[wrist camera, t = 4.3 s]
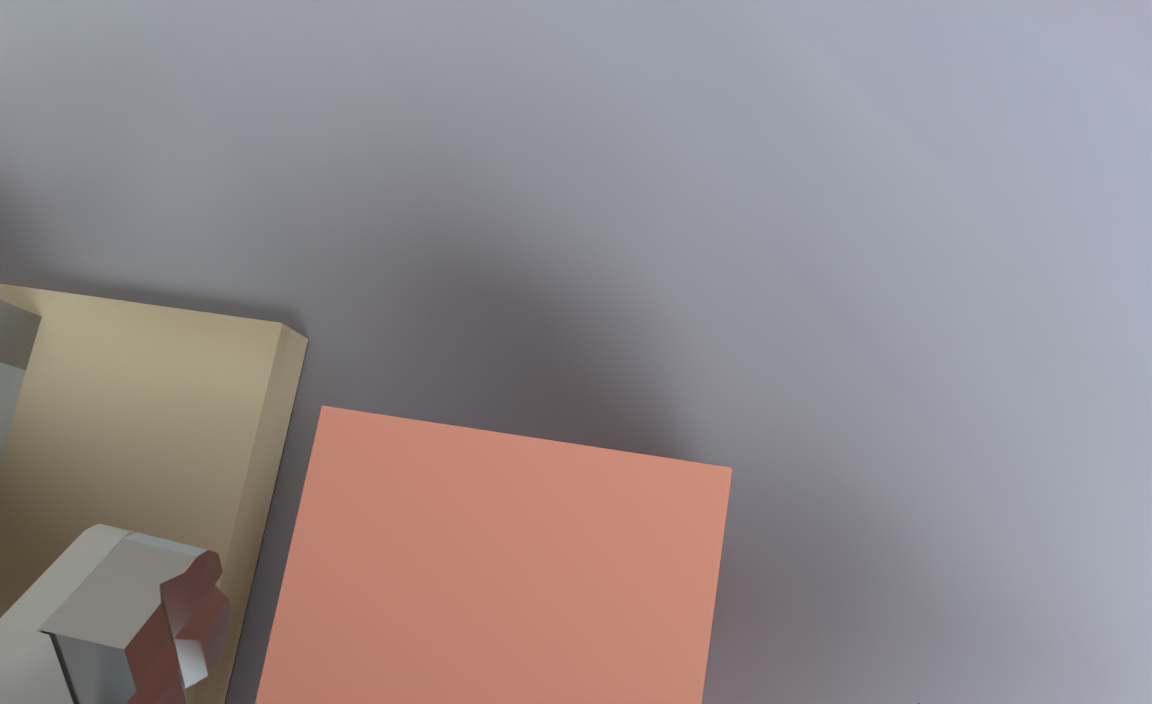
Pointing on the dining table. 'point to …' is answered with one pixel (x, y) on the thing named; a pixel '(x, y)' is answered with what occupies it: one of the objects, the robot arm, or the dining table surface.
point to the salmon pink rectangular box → (493, 570)
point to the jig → (140, 435)
